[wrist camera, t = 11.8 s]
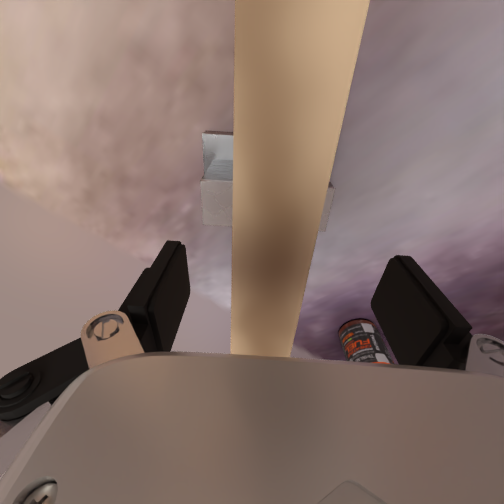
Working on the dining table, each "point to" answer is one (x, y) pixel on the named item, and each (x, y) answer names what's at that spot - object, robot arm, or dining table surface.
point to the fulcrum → (229, 181)
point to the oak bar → (284, 154)
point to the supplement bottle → (363, 343)
